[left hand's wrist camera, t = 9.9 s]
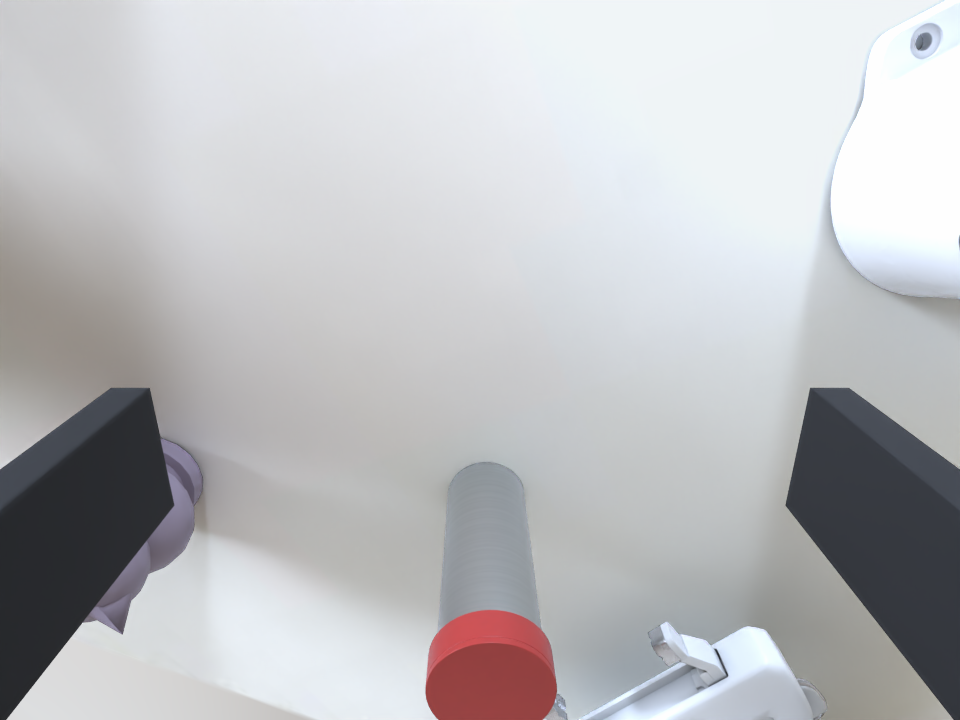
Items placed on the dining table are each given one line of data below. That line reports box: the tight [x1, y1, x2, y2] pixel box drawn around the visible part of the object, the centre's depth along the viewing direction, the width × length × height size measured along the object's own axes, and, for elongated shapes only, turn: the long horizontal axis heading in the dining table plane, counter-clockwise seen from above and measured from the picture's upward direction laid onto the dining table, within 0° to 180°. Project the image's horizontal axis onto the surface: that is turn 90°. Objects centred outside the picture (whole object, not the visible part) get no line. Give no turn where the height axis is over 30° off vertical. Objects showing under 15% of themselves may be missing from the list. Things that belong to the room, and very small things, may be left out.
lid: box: [426, 610, 557, 720], centre depth 30 cm, size 6×6×2 cm
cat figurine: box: [83, 438, 203, 635], centre depth 38 cm, size 8×8×12 cm
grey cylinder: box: [438, 462, 541, 632], centre depth 37 cm, size 5×5×16 cm
